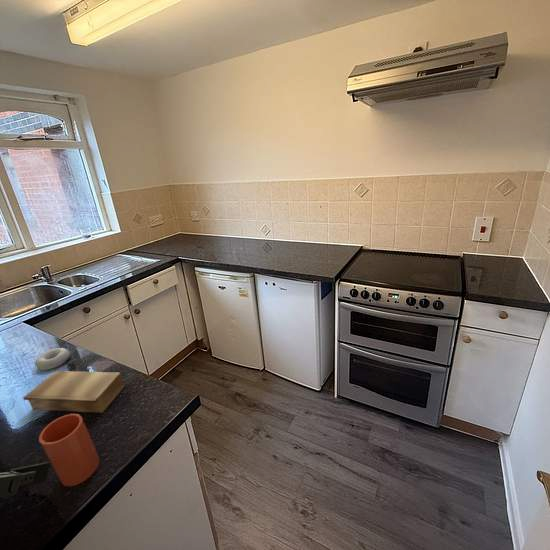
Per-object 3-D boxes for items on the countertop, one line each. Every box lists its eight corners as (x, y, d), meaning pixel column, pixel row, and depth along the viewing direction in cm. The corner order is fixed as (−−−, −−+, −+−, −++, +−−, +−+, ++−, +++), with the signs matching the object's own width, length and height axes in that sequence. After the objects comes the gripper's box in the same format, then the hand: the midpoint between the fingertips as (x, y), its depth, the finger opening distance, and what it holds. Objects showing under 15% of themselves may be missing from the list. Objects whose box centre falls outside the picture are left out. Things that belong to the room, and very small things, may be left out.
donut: (77, 354, 107) (54, 353, 109) (74, 346, 106) (51, 345, 108) (54, 373, 98) (29, 371, 100) (50, 364, 97) (25, 363, 99)
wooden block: (30, 411, 83) (22, 397, 81) (61, 384, 93) (55, 370, 91) (100, 415, 79) (94, 400, 77) (125, 386, 89) (120, 372, 87)
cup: (51, 484, 62) (29, 443, 58) (78, 452, 69) (60, 412, 65) (83, 487, 61) (62, 445, 57) (107, 454, 68) (90, 414, 63)
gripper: (-72, 475, 31) (82, 448, 50) (-237, 458, 35) (-37, 439, 55) (-111, 569, 28) (68, 502, 47) (-286, 538, 32) (-57, 488, 52)
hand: (12, 468), depth 51 cm, fingers open, 13 cm apart
